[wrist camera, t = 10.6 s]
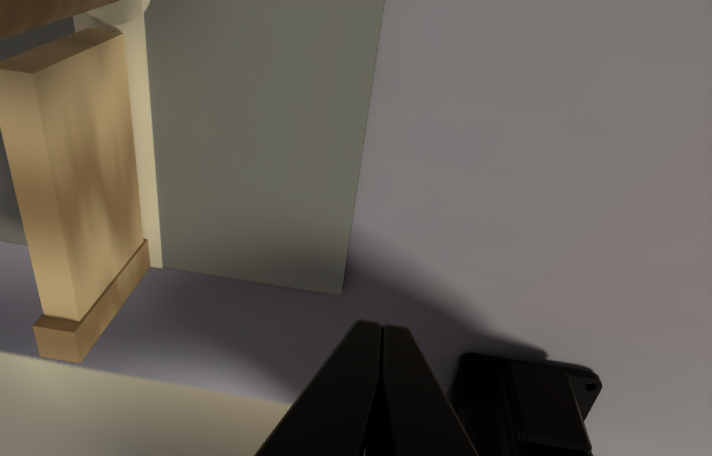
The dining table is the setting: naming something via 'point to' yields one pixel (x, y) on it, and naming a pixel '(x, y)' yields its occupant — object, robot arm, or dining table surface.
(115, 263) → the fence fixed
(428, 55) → the dining table surface
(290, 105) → the card
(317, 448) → the robot arm
